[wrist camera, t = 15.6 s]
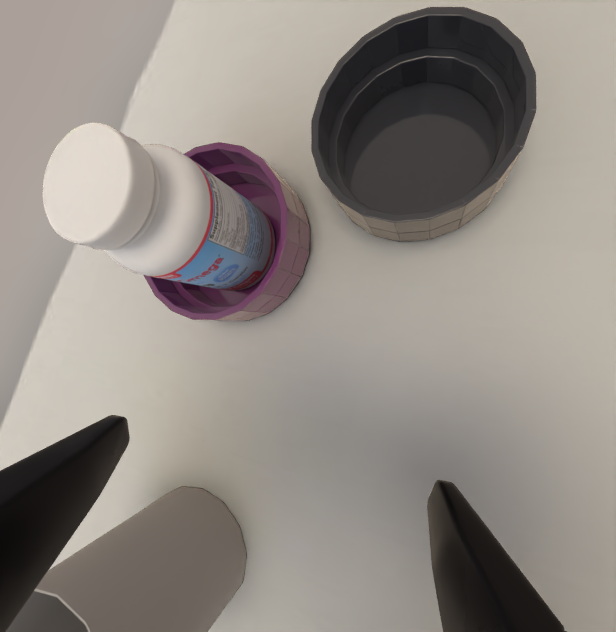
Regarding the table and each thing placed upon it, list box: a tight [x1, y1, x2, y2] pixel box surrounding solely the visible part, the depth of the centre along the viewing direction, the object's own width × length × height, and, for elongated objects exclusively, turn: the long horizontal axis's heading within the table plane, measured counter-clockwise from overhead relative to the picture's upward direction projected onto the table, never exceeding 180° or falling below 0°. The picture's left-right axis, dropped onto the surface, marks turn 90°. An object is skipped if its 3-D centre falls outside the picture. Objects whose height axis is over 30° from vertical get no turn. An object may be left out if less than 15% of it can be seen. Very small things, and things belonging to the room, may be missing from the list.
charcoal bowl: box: [311, 7, 536, 242], centre depth 18 cm, size 10×10×4 cm
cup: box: [6, 487, 247, 632], centre depth 19 cm, size 8×8×10 cm
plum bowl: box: [144, 142, 310, 321], centre depth 22 cm, size 10×10×4 cm
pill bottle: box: [43, 123, 275, 291], centre depth 18 cm, size 6×6×11 cm
